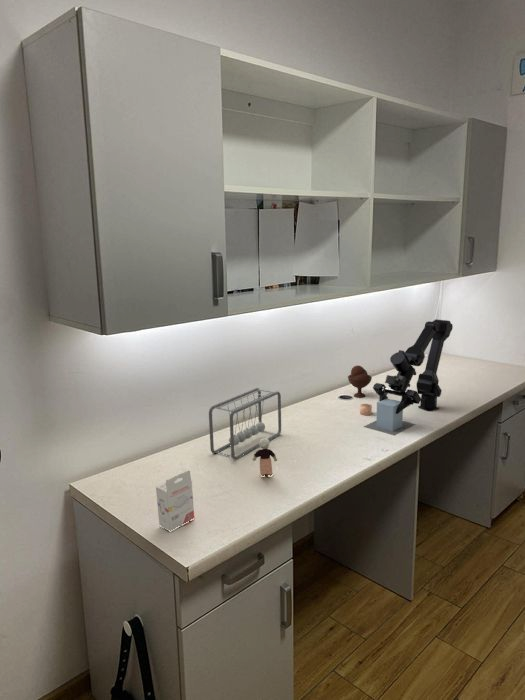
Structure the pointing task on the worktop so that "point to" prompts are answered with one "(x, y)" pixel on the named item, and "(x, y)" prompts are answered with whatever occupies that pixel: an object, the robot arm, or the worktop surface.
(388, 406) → the cover
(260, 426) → the newton's cradle
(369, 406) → the bowl
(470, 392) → the worktop surface
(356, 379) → the ice cream bowl
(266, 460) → the grandmother figurine
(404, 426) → the mat
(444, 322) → the robot arm
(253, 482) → the worktop surface
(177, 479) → the ink cartridge box
